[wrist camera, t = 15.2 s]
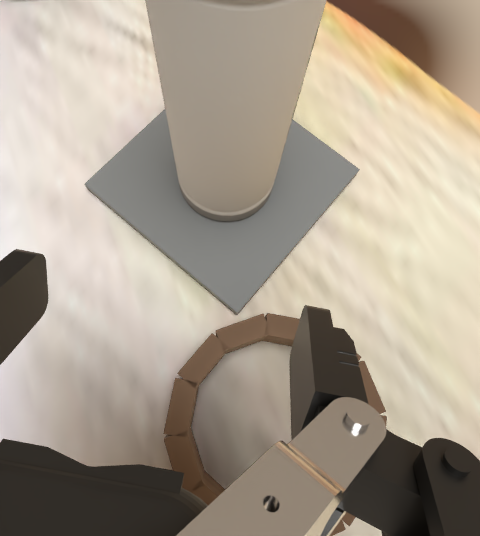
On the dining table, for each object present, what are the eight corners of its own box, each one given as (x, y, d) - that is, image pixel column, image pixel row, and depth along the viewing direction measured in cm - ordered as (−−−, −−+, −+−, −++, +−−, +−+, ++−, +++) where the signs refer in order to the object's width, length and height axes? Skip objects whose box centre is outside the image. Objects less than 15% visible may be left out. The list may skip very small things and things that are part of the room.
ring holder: (401, 406, 25) (425, 409, 22) (286, 578, 22) (296, 606, 20) (256, 287, 27) (261, 275, 24) (131, 433, 24) (119, 440, 21)
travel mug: (155, 175, 28) (15, -309, 8) (232, 121, 29) (263, -398, 10) (215, 244, 26) (214, -127, 7) (292, 186, 28) (460, -256, 9)
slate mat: (355, 175, 29) (359, 169, 29) (236, 315, 26) (237, 313, 25) (215, 69, 31) (215, 61, 30) (88, 189, 28) (84, 184, 27)
